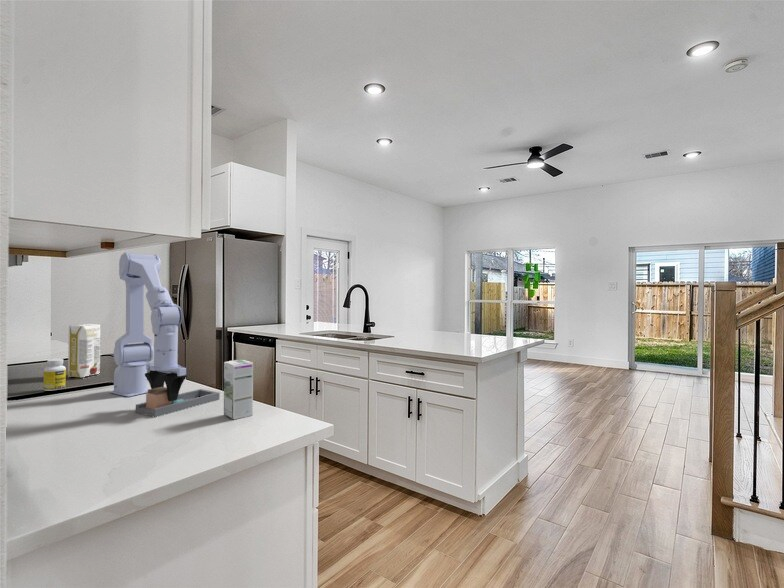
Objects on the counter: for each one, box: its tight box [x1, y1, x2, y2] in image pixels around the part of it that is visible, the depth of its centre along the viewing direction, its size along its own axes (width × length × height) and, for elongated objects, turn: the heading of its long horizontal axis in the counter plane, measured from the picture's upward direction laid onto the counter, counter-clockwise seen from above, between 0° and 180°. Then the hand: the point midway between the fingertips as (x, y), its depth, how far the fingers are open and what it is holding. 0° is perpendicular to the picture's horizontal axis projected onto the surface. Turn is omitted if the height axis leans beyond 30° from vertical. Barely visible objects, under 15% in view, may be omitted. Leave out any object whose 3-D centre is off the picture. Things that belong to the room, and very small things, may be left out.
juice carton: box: [67, 323, 101, 377], centre depth 148 cm, size 8×9×19 cm
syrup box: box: [223, 359, 254, 420], centre depth 108 cm, size 6×6×14 cm
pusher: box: [172, 399, 186, 404], centre depth 114 cm, size 6×5×2 cm
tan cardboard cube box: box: [145, 386, 172, 409], centre depth 110 cm, size 4×4×6 cm
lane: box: [135, 388, 221, 418], centre depth 116 cm, size 8×20×2 cm, turn 153°
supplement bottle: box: [43, 358, 67, 389], centre depth 128 cm, size 5×5×10 cm
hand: (165, 398), depth 112 cm, fingers open, 6 cm apart
